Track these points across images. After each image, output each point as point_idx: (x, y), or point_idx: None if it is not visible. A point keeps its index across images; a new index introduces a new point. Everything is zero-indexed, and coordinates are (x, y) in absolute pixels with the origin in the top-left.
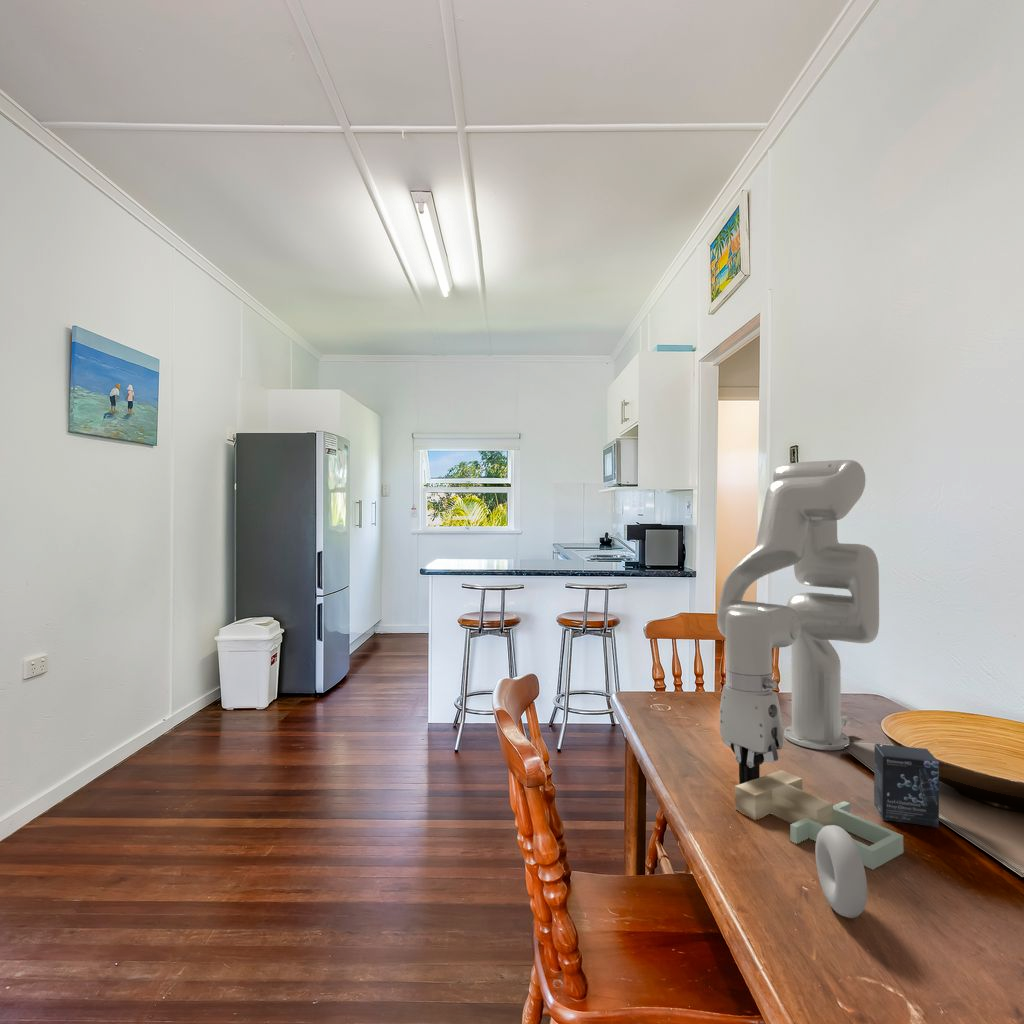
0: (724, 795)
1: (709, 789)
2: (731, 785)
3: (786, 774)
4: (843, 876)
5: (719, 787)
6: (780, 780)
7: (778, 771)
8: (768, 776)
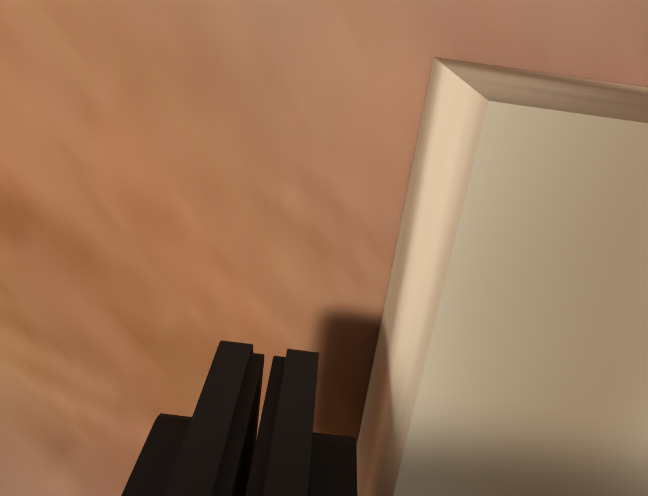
0: None
1: (15, 461)
2: (43, 285)
3: (622, 210)
4: None
5: (24, 386)
6: (620, 441)
7: (474, 194)
8: (448, 442)
